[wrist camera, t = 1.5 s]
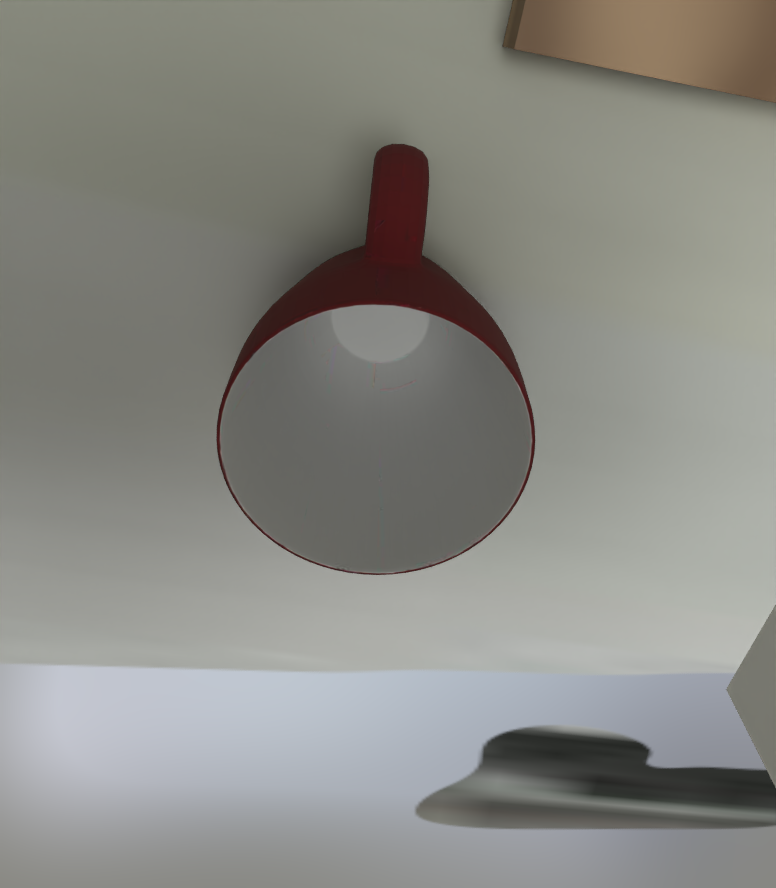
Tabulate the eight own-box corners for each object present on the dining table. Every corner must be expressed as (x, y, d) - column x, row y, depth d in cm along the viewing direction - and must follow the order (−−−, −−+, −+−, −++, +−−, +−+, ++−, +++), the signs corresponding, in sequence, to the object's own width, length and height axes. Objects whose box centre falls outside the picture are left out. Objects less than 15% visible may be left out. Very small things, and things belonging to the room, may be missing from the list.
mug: (250, 126, 24) (169, 187, 15) (498, 118, 23) (561, 177, 15) (282, 412, 29) (237, 579, 20) (485, 408, 29) (525, 574, 20)
